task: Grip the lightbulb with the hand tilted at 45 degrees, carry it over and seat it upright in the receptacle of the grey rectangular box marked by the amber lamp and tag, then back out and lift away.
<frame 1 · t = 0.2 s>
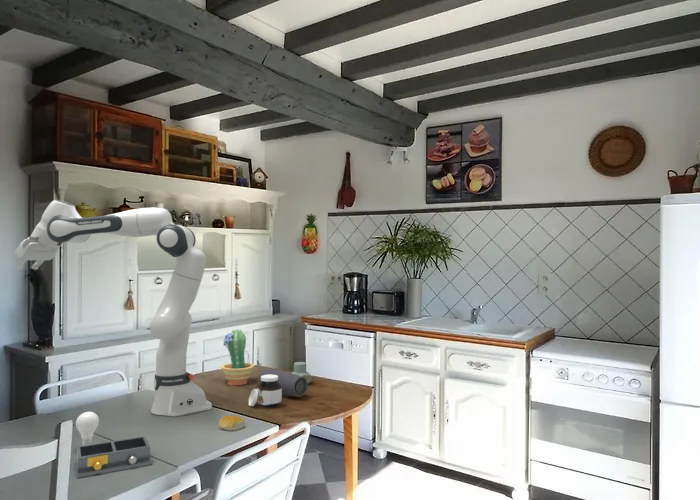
hand: (26, 269, 196), 54 cm above the table, tool tilted 30°, fingers open, 8 cm apart
air freshener: (299, 384, 239), on the table
potted cactus: (237, 383, 241), on the table
spread jar: (263, 406, 204), on the table
bluetooth speaker: (282, 395, 221), on the table
lightbulb: (87, 448, 157), on the table
bread roll: (231, 428, 178), on the table
grey rectangular box: (113, 462, 147), on the table
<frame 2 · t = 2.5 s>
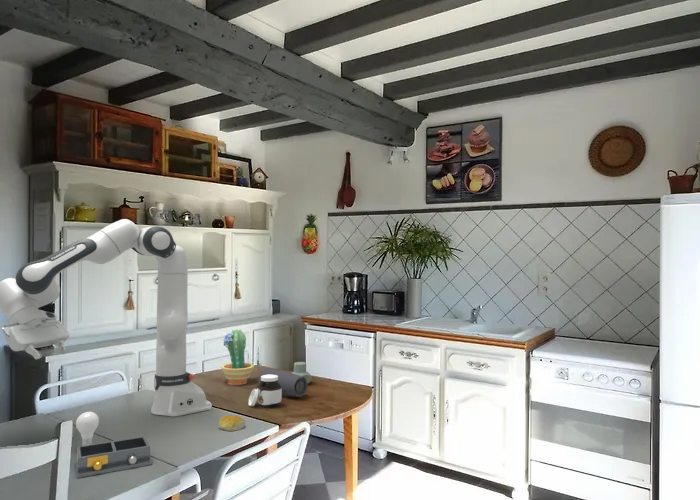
hand: (51, 355, 161), 28 cm above the table, tool tilted 45°, fingers open, 8 cm apart
nothing on the table moved.
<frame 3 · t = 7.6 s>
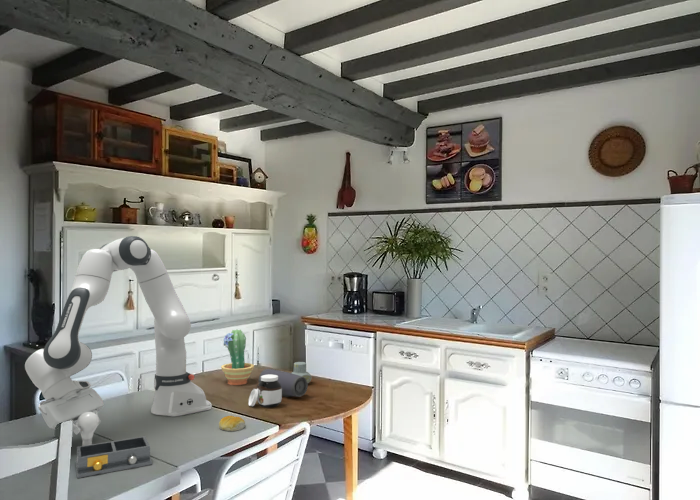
hand: (89, 428, 157), 6 cm above the table, tool tilted 45°, fingers closed on lightbulb, 6 cm apart
lightbulb: (87, 448, 157), on the table, touching gripper
everything else where it was.
when the fingers open (8 cm above the table, at t = 14.1 s): lightbulb drops 1 cm, resting on grey rectangular box.
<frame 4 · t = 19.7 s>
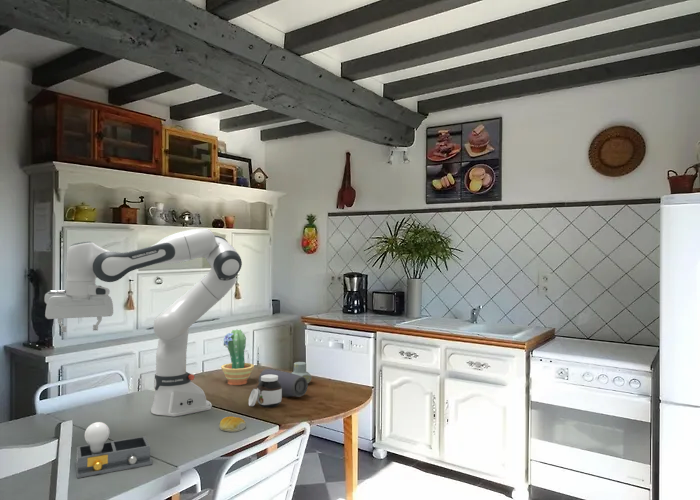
hand: (79, 331, 171), 34 cm above the table, tool pointing down, fingers open, 8 cm apart
lightbulb: (96, 462, 144), point 1 cm above the table, touching grey rectangular box
at the end: lightbulb 0.1 cm from the target spot on the grey rectangular box, point 0.8 cm above the grey rectangular box's base; lightbulb tilted 0°; the gripper is holding nothing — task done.
